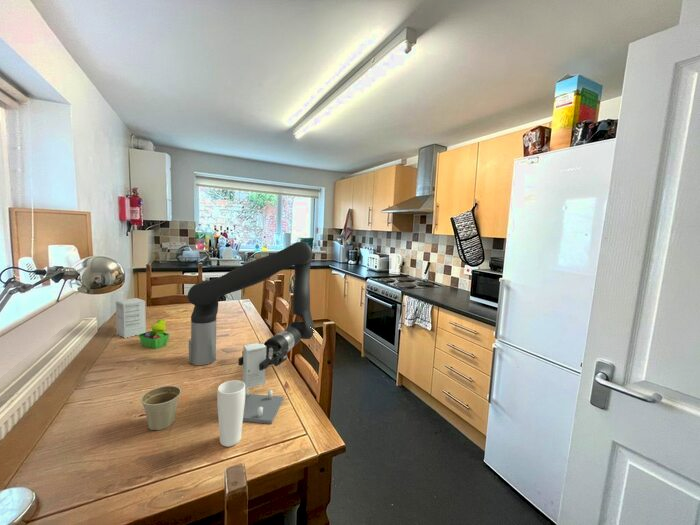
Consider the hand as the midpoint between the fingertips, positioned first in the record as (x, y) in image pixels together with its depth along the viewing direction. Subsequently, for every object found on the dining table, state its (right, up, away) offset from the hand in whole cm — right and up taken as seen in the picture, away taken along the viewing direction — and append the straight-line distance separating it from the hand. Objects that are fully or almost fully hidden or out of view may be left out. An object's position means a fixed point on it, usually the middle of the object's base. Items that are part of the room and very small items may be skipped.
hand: (249, 364), depth 85 cm
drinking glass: (-2, -17, -10) cm, 19 cm away
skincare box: (0, -7, +3) cm, 8 cm away
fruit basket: (-59, -7, +45) cm, 75 cm away
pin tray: (0, -15, +4) cm, 15 cm away
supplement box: (-79, -5, +56) cm, 97 cm away
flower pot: (-23, -15, -5) cm, 28 cm away
